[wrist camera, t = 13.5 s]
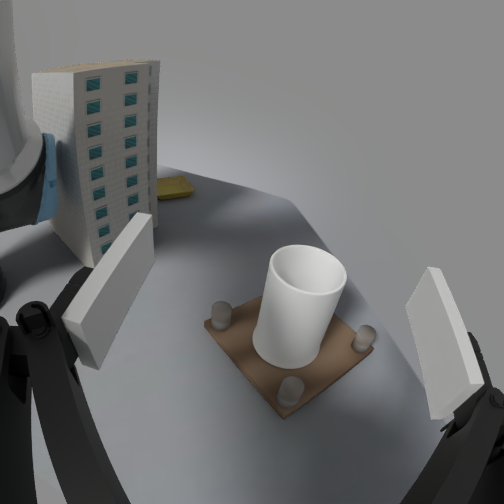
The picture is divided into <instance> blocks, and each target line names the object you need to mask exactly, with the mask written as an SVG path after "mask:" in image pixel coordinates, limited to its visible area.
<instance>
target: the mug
mask: <svg viewBox="0 0 504 504" xmlns="http://www.w3.org/2000/svg"><path fill="white" fill-rule="evenodd" d="M346 280H347V274H346V270H345V268H344V266H343V265H342V263H341V262H340V261H339V260H338V259H337V258H336V257H334V256H333V255H331V254H330V253H328V252H326V251H324V250H322V249H319V248H316V247H313V246H308V245H289V246H285V247H282V248H280V249H278V250H277V251H275V252H274V253H273V255H272V256H271V259H270V263H269V268H268V273H267V278H266V283H265V288H264V293H263V298H262V303H261V308H260V313H259V317H258V322H257V326H256V327H255V329H254V332H253V345H254V348H255V350H256V351H257V353H258V354H259V355H260V357H261V358H263V359H264V360H265V361H266V362H268V363H270V364H272V365H274V366H276V367H280V368H284V369H296V368H301V367H304V366H306V365H308V364H310V363H311V362H312V361H313V360H314V359H315V358H316V357H317V355H318V353H319V349H320V344H321V341H322V339H323V337H324V334H325V332H326V330H327V327H328V325H329V323H330V320H331V318H332V315H333V313H334V311H335V308H336V306H337V303H338V301H339V298H340V296H341V293H342V291H343V288H344V286H345V283H346Z"/></svg>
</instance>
